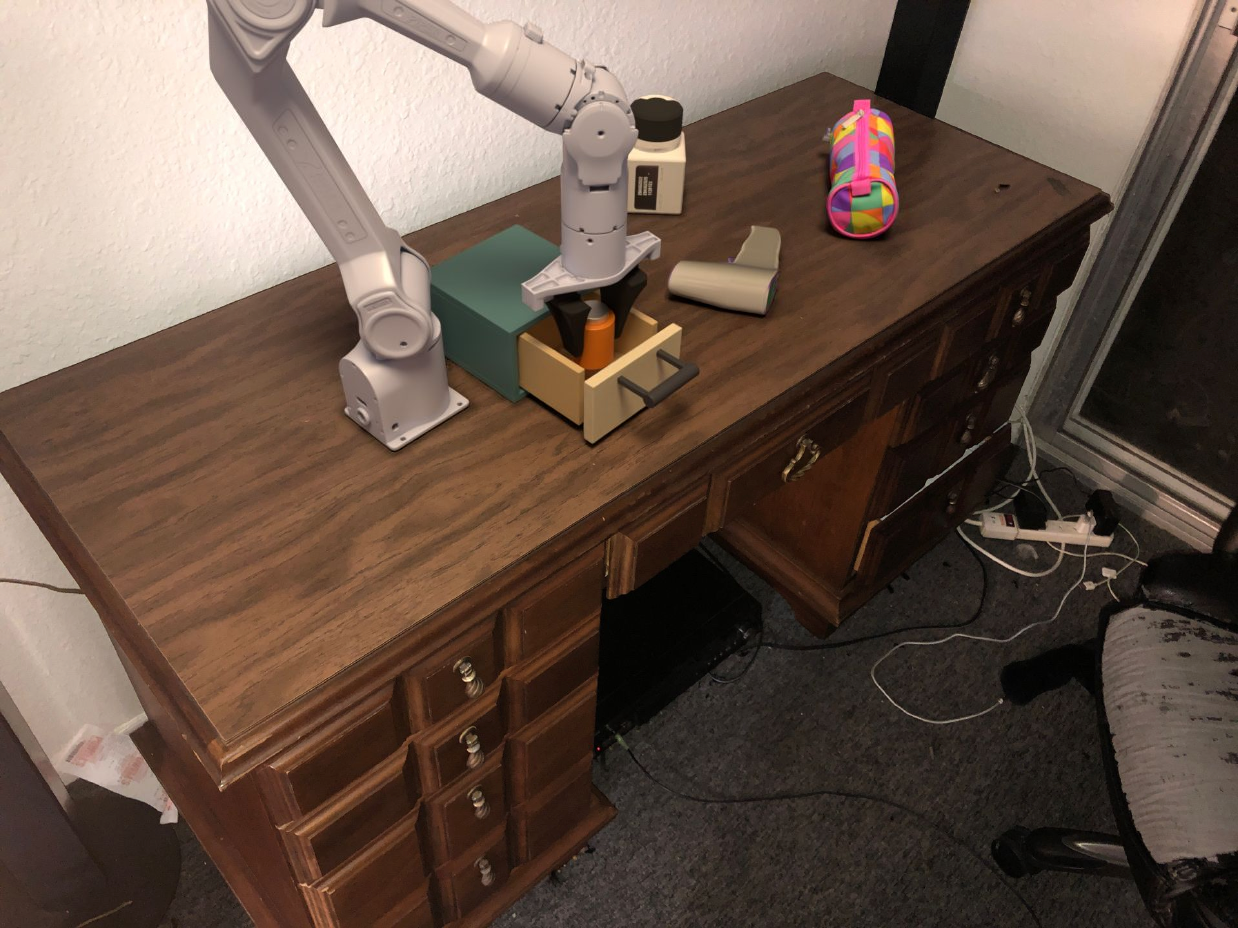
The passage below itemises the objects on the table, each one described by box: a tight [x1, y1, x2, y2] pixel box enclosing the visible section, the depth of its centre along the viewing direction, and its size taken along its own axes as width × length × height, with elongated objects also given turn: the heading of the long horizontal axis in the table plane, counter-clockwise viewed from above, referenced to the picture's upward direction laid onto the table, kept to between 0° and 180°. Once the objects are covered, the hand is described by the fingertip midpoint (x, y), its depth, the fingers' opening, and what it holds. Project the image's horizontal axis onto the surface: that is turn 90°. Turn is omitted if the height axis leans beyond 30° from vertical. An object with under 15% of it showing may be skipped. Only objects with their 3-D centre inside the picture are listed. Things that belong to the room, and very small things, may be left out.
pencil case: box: [821, 99, 900, 240], centre depth 121 cm, size 22×9×9 cm, turn 172°
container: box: [627, 94, 687, 216], centre depth 119 cm, size 8×8×13 cm
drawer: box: [516, 288, 701, 444], centre depth 92 cm, size 17×12×7 cm
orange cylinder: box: [571, 300, 615, 370], centre depth 91 cm, size 4×4×6 cm
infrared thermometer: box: [666, 225, 782, 315], centre depth 110 cm, size 5×12×15 cm
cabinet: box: [430, 223, 600, 404], centre depth 98 cm, size 14×14×9 cm
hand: (592, 342), depth 92 cm, fingers closed on orange cylinder, 4 cm apart
